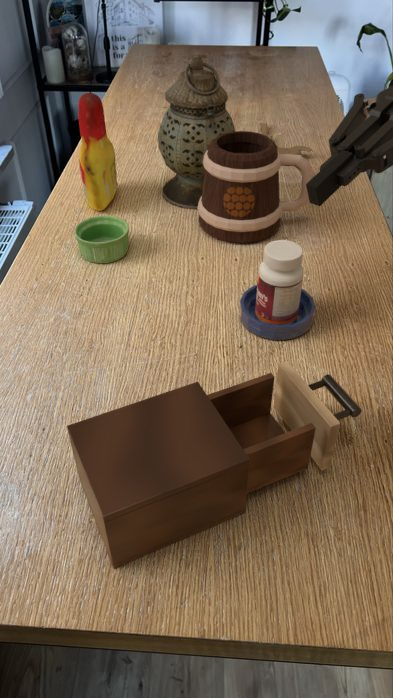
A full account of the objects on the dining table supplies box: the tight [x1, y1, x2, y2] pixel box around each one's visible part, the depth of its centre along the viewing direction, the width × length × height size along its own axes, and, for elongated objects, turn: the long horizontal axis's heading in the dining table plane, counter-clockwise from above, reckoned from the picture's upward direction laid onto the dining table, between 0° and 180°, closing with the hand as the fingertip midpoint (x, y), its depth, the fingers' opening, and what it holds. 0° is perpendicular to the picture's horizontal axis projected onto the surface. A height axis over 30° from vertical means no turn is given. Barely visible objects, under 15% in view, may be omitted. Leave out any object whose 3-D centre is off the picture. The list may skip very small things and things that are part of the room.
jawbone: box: [260, 122, 314, 156], centre depth 131 cm, size 9×20×2 cm, turn 27°
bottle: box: [78, 92, 119, 211], centre depth 106 cm, size 12×6×20 cm, turn 175°
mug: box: [197, 130, 315, 244], centre depth 101 cm, size 20×15×15 cm
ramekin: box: [73, 214, 130, 264], centre depth 98 cm, size 9×9×4 cm
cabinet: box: [66, 381, 249, 569], centre depth 60 cm, size 15×12×9 cm
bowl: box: [239, 284, 317, 341], centre depth 85 cm, size 11×11×3 cm
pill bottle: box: [255, 239, 304, 325], centre depth 82 cm, size 6×6×11 cm
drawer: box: [207, 360, 363, 494], centre depth 65 cm, size 18×10×7 cm, turn 115°
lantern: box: [157, 55, 236, 210], centre depth 107 cm, size 14×14×25 cm
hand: (312, 195), depth 67 cm, fingers closed
